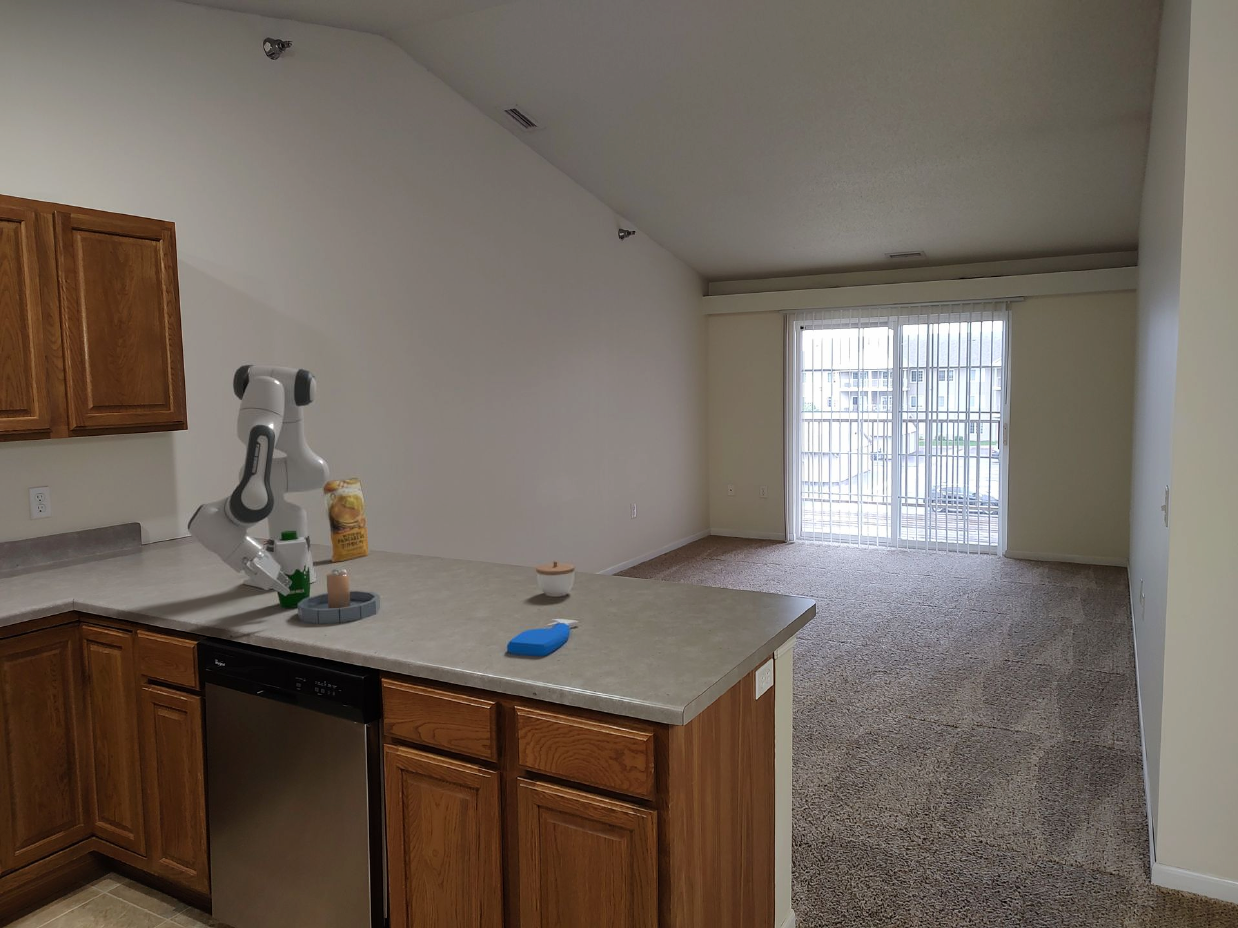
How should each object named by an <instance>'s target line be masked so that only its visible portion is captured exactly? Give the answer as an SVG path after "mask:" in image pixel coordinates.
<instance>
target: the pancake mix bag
mask: <svg viewBox="0 0 1238 928" xmlns="http://www.w3.org/2000/svg"><path fill="white" fill-rule="evenodd" d="M321 489H322V496H323V500H324V504H325V512H326V517H327V520H328V523H329V528H330V529H329V530H330V540H331V545H332V556H331V561H332V563H336V562H339V563H340V562H345V561H350V560H354V559H359V558H363V557H366V556H368V555H369V553H370V552H369V551H370V550H369V546H368V545H369V544H368V543H369V540H368V538H369V537H368V526H367V524H368V522H367V513H366V512H367V511H366V501H365V498H364V493H363V488H362V484H361V480H360V479H358V477H352V478H347V479H334V480H328V481H327V483H326V485H325V486H324V487H322V488H321Z"/></svg>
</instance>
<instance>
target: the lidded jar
mask: <svg viewBox="0 0 1238 928" xmlns="http://www.w3.org/2000/svg"><path fill="white" fill-rule="evenodd" d="M575 567H576V566H575V565H574V564H571V563H564V562H563V563H562V562H560V563H559V562H558V561H557V560H554V561H553V563H552V562H551V563H545V564H541V565H539V566H537V567H536V569H535V571H536V577H537V578H536V580H537V584H538V586H539V588H540V590H541V591H542V592H543V593H544V594H545V596H547V597H553V598H555V597H557V598H558V597H563V596H567V595H568V593H569V592H570V590H571V589H572V587H573V585H574V581H575Z"/></svg>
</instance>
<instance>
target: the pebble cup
mask: <svg viewBox="0 0 1238 928" xmlns="http://www.w3.org/2000/svg"><path fill="white" fill-rule="evenodd" d="M350 589H351V587H350V574H349V572H347V569H344V568H343V569H339V568H333V569H332V570H331V573H329V574H327V575H326V591H327V592H326V593H328V608H342V607H349V606H351V603H350V591H351V590H350Z"/></svg>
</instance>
